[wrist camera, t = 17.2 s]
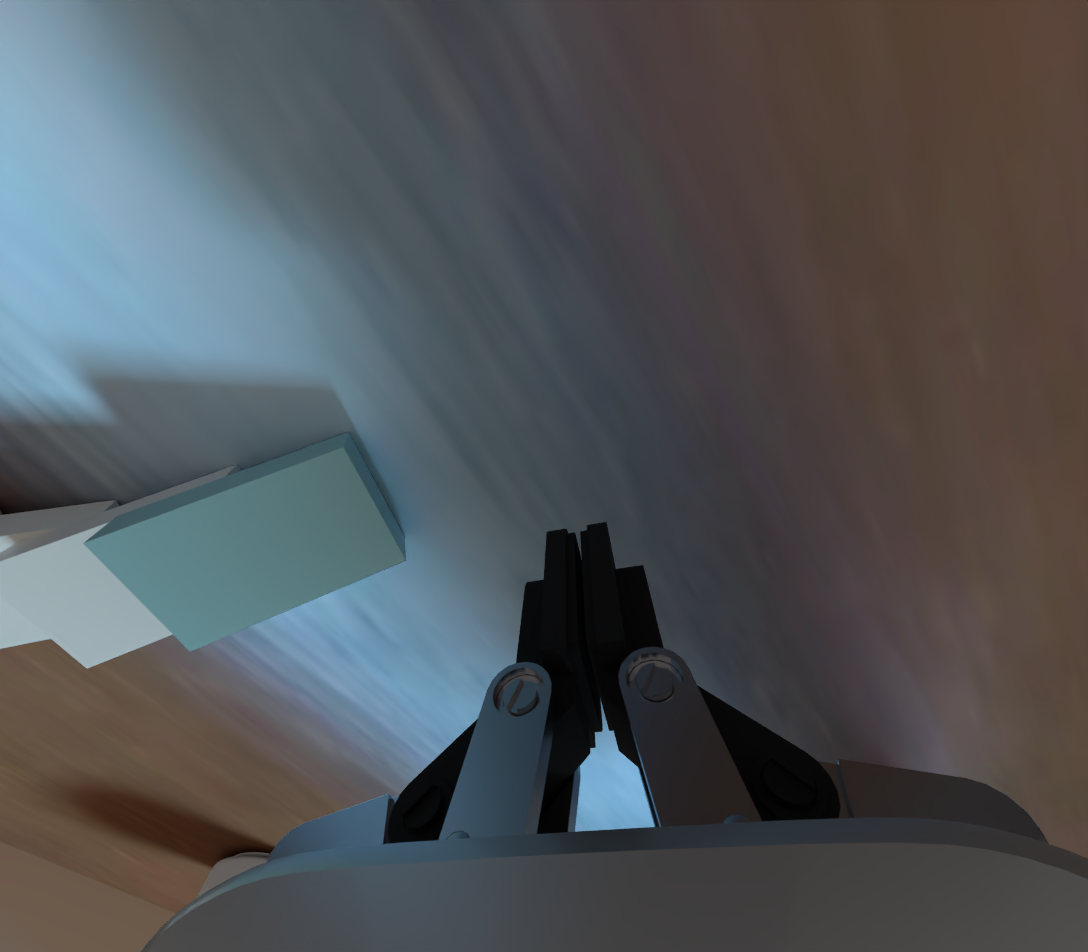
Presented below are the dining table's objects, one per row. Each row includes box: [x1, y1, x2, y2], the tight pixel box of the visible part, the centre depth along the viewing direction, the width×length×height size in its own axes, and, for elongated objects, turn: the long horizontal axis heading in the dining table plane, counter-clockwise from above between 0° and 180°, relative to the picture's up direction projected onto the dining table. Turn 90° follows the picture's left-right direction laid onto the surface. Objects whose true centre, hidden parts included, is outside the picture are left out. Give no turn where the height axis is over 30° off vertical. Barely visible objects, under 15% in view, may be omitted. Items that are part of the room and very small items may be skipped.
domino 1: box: [0, 500, 119, 649], centre depth 17 cm, size 2×5×8 cm
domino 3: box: [83, 432, 406, 651], centre depth 15 cm, size 2×5×8 cm
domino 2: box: [0, 465, 241, 668], centre depth 17 cm, size 2×5×8 cm
